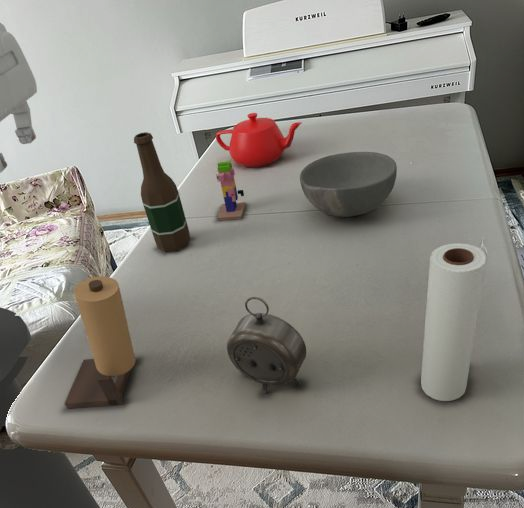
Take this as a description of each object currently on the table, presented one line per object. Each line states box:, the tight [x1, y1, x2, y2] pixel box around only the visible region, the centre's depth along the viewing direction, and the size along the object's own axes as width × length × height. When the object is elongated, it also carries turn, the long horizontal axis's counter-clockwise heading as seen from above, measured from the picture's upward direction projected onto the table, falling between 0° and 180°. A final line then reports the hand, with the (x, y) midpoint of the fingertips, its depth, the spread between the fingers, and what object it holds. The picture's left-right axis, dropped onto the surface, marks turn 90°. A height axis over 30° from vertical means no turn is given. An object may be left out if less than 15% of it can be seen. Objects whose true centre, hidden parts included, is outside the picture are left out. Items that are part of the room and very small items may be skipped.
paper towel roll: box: [420, 237, 488, 402], centre depth 65 cm, size 7×6×21 cm
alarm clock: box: [226, 296, 307, 395], centre depth 73 cm, size 11×5×16 cm, turn 66°
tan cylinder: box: [73, 275, 136, 382], centre depth 76 cm, size 16×8×6 cm
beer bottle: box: [133, 131, 191, 253], centre depth 107 cm, size 8×8×24 cm
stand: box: [64, 357, 137, 410], centre depth 82 cm, size 9×10×6 cm
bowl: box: [299, 151, 398, 218], centre depth 111 cm, size 20×20×10 cm
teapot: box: [215, 112, 303, 168], centre depth 140 cm, size 25×16×12 cm, turn 73°
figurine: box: [215, 160, 247, 221], centre depth 119 cm, size 7×6×12 cm
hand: (15, 155), depth 65 cm, fingers open, 8 cm apart
